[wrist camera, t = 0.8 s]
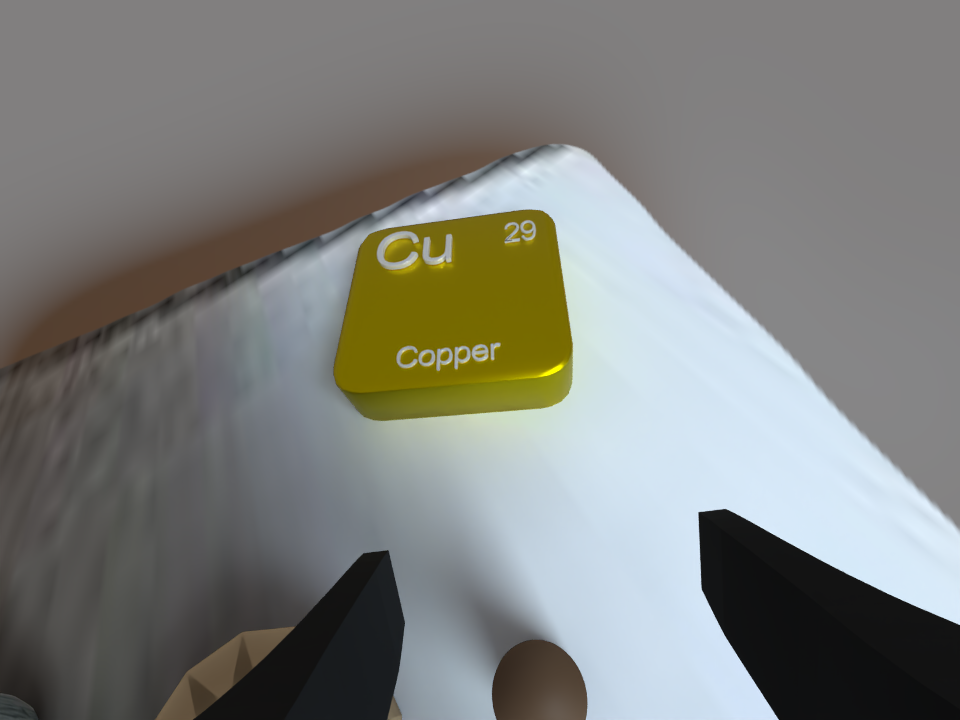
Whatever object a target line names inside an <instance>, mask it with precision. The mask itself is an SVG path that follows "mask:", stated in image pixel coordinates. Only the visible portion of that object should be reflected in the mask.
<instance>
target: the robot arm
mask: <svg viewBox="0 0 960 720" xmlns="http://www.w3.org/2000/svg"><path fill="white" fill-rule="evenodd" d="M698 513H699V537H700V561H701V585H702V591H703V593H704V595H705V597H706V599H707V601H708V603H709V605H710V607H711V609H712V611H713V613H714V615H715V617H716V619H717V621H718V623H719V625H720V627H721V629H722V631H723V633H724V635H725V636H726V638H727V640H728V641H729V643H730V645H731V646H732V648H733V649H734V651H735V652H736V654H737V656H738V657H739V659H740V660H741V662H742V663H743V665H744V667H745V668H746V670H747V671H748V673H749V674H750V676H751V677H752V679H753V681H754V682H755V684H756V685H757V687H758V688H759V690H760V691H761V693H762V694H763V696H764V698H765V699H766V701H767V702H768V704H769V705H770V707H771V708H772V710H773V711H774V713H775V715H776V716H777V718H778V719H779V720H960V625H958V624H956V623H954V622H951V621H949V620H947V619H944V618H942V617H939V616H937V615H935V614H932V613H930V612H928V611H925V610H923V609H921V608H918V607H916V606H914V605H911V604H909V603H907V602H905V601H902V600H900V599H898V598H896V597H894V596H891V595H889V594H887V593H885V592H883V591H881V590H879V589H877V588H875V587H873V586H871V585H869V584H867V583H864V582H862V581H860V580H858V579H856V578H854V577H852V576H850V575H848V574H846V573H844V572H842V571H840V570H838V569H836V568H834V567H832V566H830V565H829V564H827V563H825V562H823V561H821V560H819V559H817V558H815V557H813V556H812V555H810V554H808V553H806V552H804V551H802V550H800V549H799V548H797V547H795V546H793V545H791V544H789V543H788V542H786V541H784V540H782V539H780V538H779V537H777V536H775V535H773V534H771V533H770V532H768V531H766V530H764V529H763V528H761V527H759V526H757V525H755V524H753V523H752V522H750V521H748V520H746V519H744V518H743V517H741V516H739V515H737V514H735V513H733V512H731V511H729V510H727V509H722V510H714V511H705V512H698ZM404 626H405V621H404V617H403V612H402V608H401V603H400V599H399V594H398V590H397V586H396V581H395V577H394V572H393V568H392V564H391V559H390V555H389V550H387V551H379V552H371V553H363V554H362V555H361V556H360V557H359V558H358V559H357V560H356V562H355V563H354V564H353V565H352V566H351V567H350V568H349V569H348V570H347V571H346V573H345V574H344V575H343V576H342V577H341V578H340V579H339V580H338V582H337V583H336V584H335V585H334V586H333V587H332V588H331V589H330V590H329V592H328V593H327V594H326V595H325V596H324V597H323V598H322V599H321V600H320V601H319V602H318V603H317V605H316V606H315V607H314V608H313V609H312V610H311V611H310V612H309V613H308V614H307V615H306V617H305V618H304V619H303V620H302V621H301V622H300V623H299V624H298V625H297V626H296V627H295V628H294V629H293V630H292V631H291V632H290V633H289V634H288V635H287V636H286V637H285V638H284V639H283V640H282V641H281V642H280V643H279V644H278V645H277V646H276V647H275V648H274V649H273V650H272V651H271V652H270V653H269V654H268V655H267V656H266V657H265V658H264V659H263V660H262V661H261V662H259V663H258V664H257V665H256V666H255V667H254V668H253V669H252V670H251V671H250V672H249V673H248V674H246V675H245V676H244V677H243V678H242V679H241V680H240V681H239V682H237V683H236V684H235V685H234V686H233V687H232V688H230V689H229V690H228V691H227V692H226V693H225V694H224V695H222V696H221V697H220V698H219V699H218V700H217V701H215V702H214V703H213V704H212V705H211V706H209V707H208V708H207V709H206V710H205V711H203V712H202V713H201V714H199V715H198V716H197V717H196V718H194V719H193V720H387V719H388V715H389V710H390V706H391V702H392V698H393V694H394V689H395V685H396V681H397V676H398V672H399V666H400V659H401V651H402V643H403V635H404Z"/></svg>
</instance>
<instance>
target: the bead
mask: <svg viewBox="0 0 960 720" xmlns="http://www.w3.org/2000/svg"><path fill="white" fill-rule="evenodd" d="M294 628H295V627H286V628H276V629H266V630H256V631H246V632H242V633H240V634H239V635H237V636H236V637H235V638H233V639H232V640H230V641H229V642H228V643H226V644H225V645H223V646H222V647H221V648H219V649H218V650H216V651H215V652H214V653H212V654H211V655H209V656H208V657H207V658H205V659H204V660H203V661H201V662H200V663H198V664H197V665H196V666H194V667H193V668H191V669H190V670H189V671H187V672H186V674H185V675H184V677H183V678H182V680H181V681H180V683H179V684H178V686H177V687H176V689H175V690H174V692H173V693H172V695H171V696H170V698H169V699H168V701H167V702H166V704H165V705H164V707H163V709H162V710H161V712H160V713H159V715H158V716H157V718H156V719H155V720H193V719H194V718H196V717H197V716H198V715H199V714H201V713H202V712H203V711H205V710H206V709H207V708H208V707H209V706H211V705H212V704H213V703H214V702H215V701H217V700H218V699H219V698H220V697H221V696H222V695H224V694H225V693H226V692H227V691H228V690H229V689H230V688H232V687H233V686H234V685H235V684H236V683H237V682H239V681H240V680H241V679H242V678H243V677H244V676H245V675H246V674H248V673H249V672H250V671H251V670H252V669H253V668H254V667H255V666H256V665H257V664H258V663H259V662H261V661H262V660H263V659H264V658H265V657H266V656H267V655H268V654H269V653H270V652H271V651H272V650H273V649H274V648H275V647H276V646H277V645H278V644H279V643H280V642H281V641H282V640H283V639H284V638H285V637H286V636H287V635H288V634H289V633H290V632H291V631H292V630H293V629H294ZM387 720H402V714H401V712H400V710H399V708H398V705H397V703H396V701H395V698H394V696H393V698H392V702H391V706H390V710H389V715H388V719H387Z"/></svg>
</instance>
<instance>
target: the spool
mask: <svg viewBox="0 0 960 720" xmlns="http://www.w3.org/2000/svg"><path fill="white" fill-rule="evenodd" d="M0 720H39V719H38V717H37V715H36V713H35V711H34V709H33V708H32V707H31V706H30V705H28V704H27V703H26V702H24V701H22V700H20V699H19V698H17V697H15V696H13V695H8V694H3V693H0Z"/></svg>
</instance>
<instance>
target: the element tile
mask: <svg viewBox="0 0 960 720" xmlns="http://www.w3.org/2000/svg"><path fill="white" fill-rule="evenodd" d="M572 373H573V342H572V336H571V329H570V322H569V315H568V308H567V302H566V295H565V288H564V281H563V274H562V268H561V261H560V254H559V247H558V241H557V234H556V227H555V223H554V221H553V219H552V218H551V217H550V216H549V215H548V214H547V213H545V212H543V211H540V210H518V211H511V212H504V213H497V214H489V215H482V216H475V217H467V218H460V219H453V220H445V221H438V222H431V223H424V224H416V225H409V226H402V227H394V228H388V229H384V230H380V231H377V232H374V233H371V234H370V235H368V237H367V238H366V239H365V240H364V242H363V243H362V244H361V246H360V248H359V251H358V256H357V260H356V265H355V270H354V274H353V279H352V284H351V288H350V293H349V298H348V302H347V307H346V312H345V316H344V321H343V326H342V330H341V335H340V340H339V344H338V349H337V354H336V358H335V363H334V378H335V381H336V385H337V386H338V387H339V388H340V390H341V391H342V392H343V393H344V394H345V396H346V397H347V398H348V399H349V400H350V402H351V403H352V404H353V405H354V406H355V408H356V409H357V410H358V411H359V412H360V413H361V414H362V415H363V416H364V417H366V418H369V419H372V420H377V421H388V420H401V419H414V418H426V417H439V416H452V415H464V414H477V413H490V412H503V411H515V410H528V409H541V408H546V407H550V406H553V405H555V404H557V403H559V402H561V401H562V400H563V399H564V398H565V397H566V396H567V395H568V394H569V391H570V388H571V385H572Z"/></svg>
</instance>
